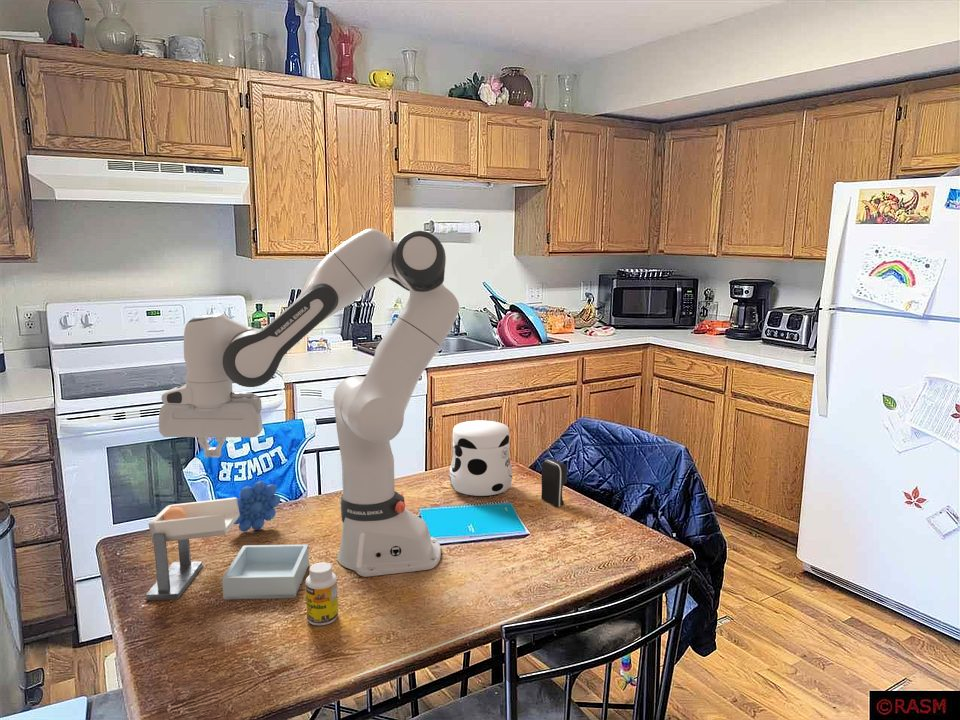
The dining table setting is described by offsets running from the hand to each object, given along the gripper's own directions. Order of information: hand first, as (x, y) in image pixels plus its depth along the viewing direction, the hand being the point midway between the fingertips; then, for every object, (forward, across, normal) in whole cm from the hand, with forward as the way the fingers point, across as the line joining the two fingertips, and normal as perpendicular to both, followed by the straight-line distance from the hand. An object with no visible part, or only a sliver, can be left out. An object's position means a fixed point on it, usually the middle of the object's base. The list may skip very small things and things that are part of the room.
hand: (213, 456), depth 139 cm
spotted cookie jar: (+23, -59, -38) cm, 73 cm away
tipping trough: (+12, 0, +6) cm, 13 cm away
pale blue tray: (+23, -13, +9) cm, 28 cm away
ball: (+9, +5, +9) cm, 14 cm away
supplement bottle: (+23, -26, +23) cm, 42 cm away
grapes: (+24, -4, -16) cm, 28 cm away
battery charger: (+22, -78, -29) cm, 86 cm away
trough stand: (+24, +6, +9) cm, 26 cm away
